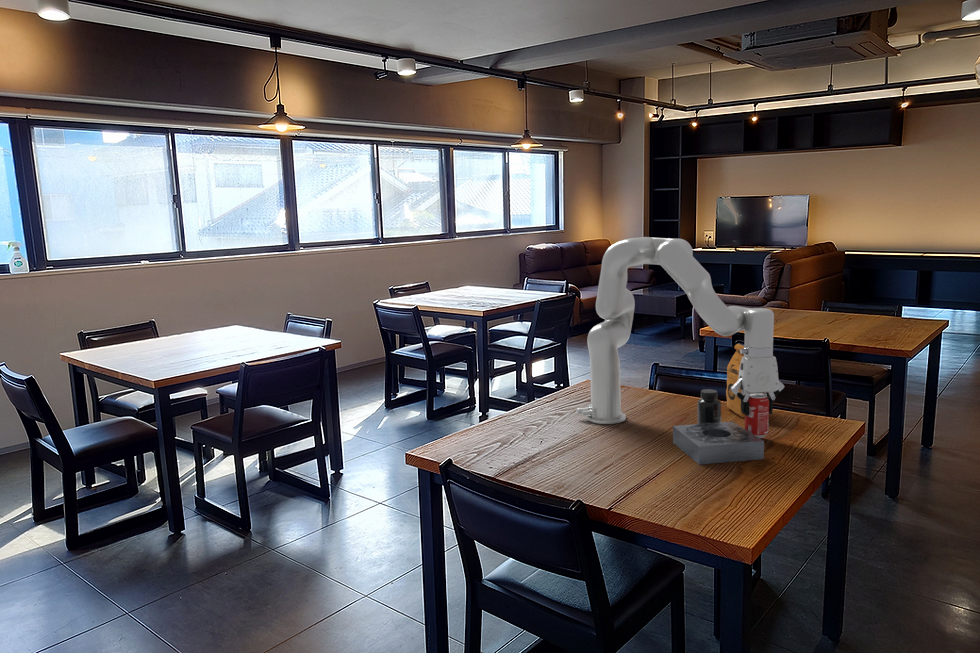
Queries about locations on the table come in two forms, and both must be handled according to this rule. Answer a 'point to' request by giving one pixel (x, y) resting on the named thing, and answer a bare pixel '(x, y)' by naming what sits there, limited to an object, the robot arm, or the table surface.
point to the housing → (718, 442)
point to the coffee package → (734, 381)
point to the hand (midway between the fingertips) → (756, 412)
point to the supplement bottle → (709, 407)
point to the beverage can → (758, 415)
